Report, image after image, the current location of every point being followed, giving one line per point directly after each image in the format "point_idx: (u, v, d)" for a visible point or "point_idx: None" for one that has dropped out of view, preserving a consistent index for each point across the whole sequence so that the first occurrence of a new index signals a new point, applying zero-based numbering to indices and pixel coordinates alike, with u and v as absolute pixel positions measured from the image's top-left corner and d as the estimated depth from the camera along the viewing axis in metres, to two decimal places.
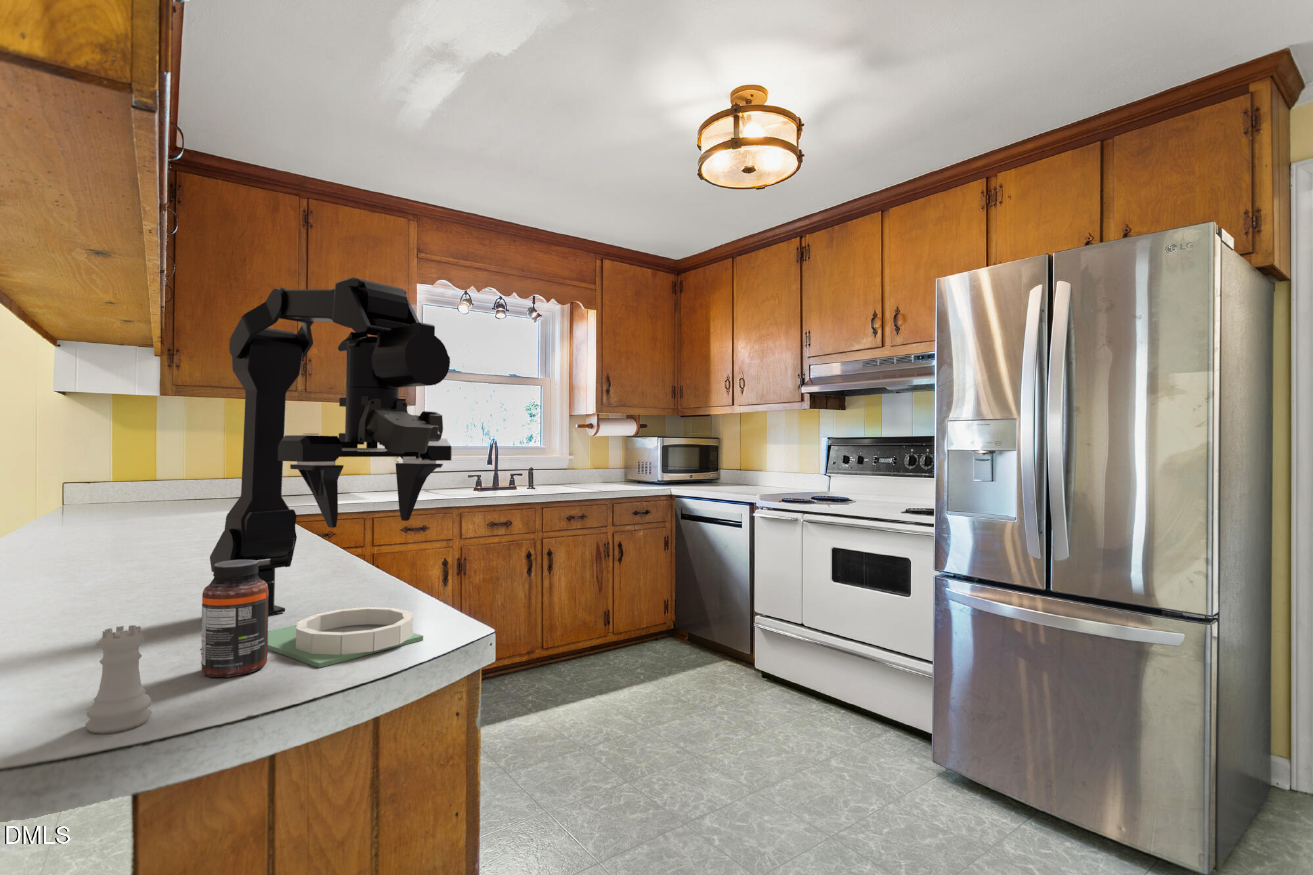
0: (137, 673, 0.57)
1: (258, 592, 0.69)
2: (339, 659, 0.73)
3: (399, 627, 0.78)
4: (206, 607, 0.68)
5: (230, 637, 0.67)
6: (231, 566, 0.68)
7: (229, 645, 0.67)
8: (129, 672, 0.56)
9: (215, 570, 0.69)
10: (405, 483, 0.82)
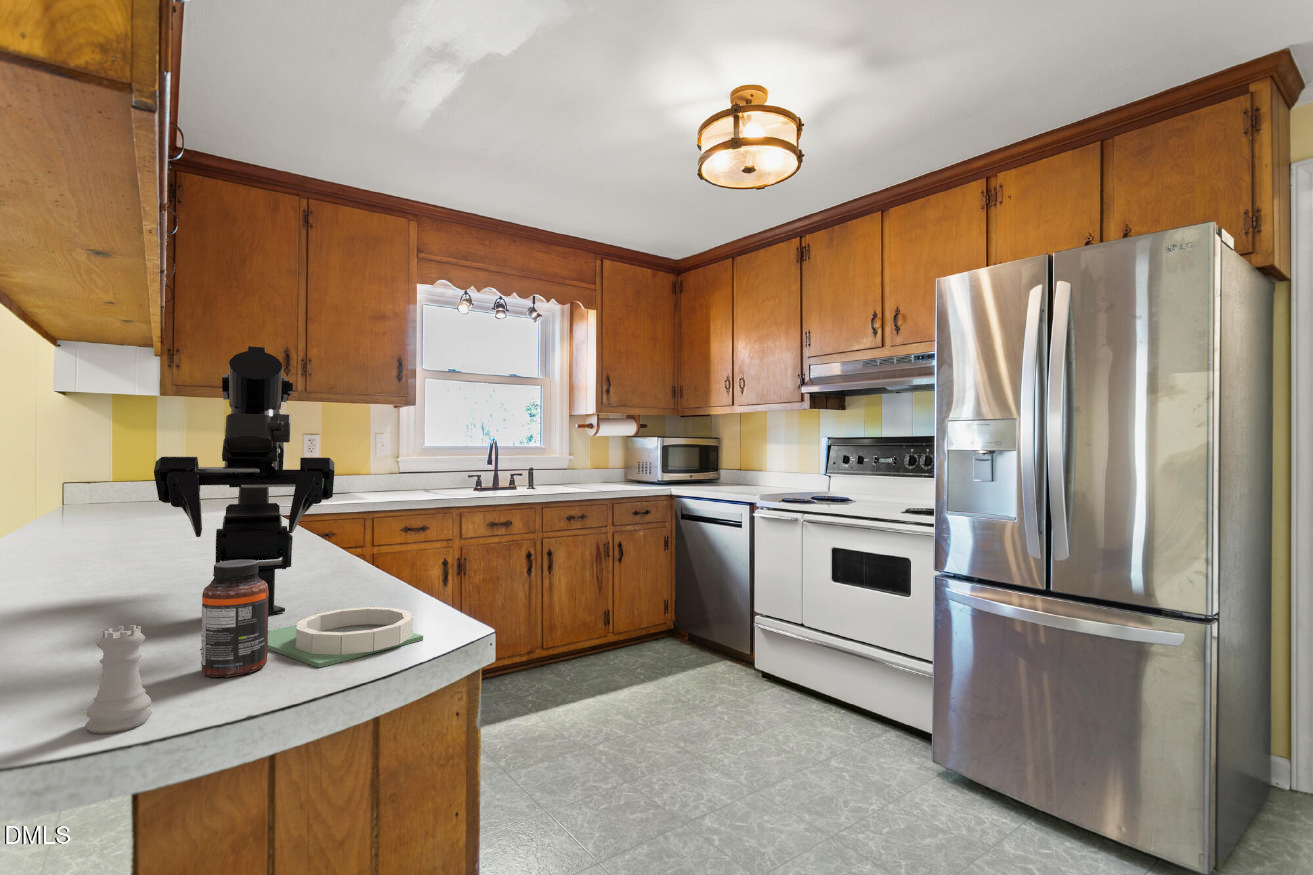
0: (137, 673, 0.57)
1: (258, 592, 0.69)
2: (339, 659, 0.73)
3: (399, 627, 0.78)
4: (206, 607, 0.68)
5: (230, 637, 0.67)
6: (231, 566, 0.68)
7: (229, 645, 0.67)
8: (129, 672, 0.56)
9: (215, 570, 0.69)
10: None
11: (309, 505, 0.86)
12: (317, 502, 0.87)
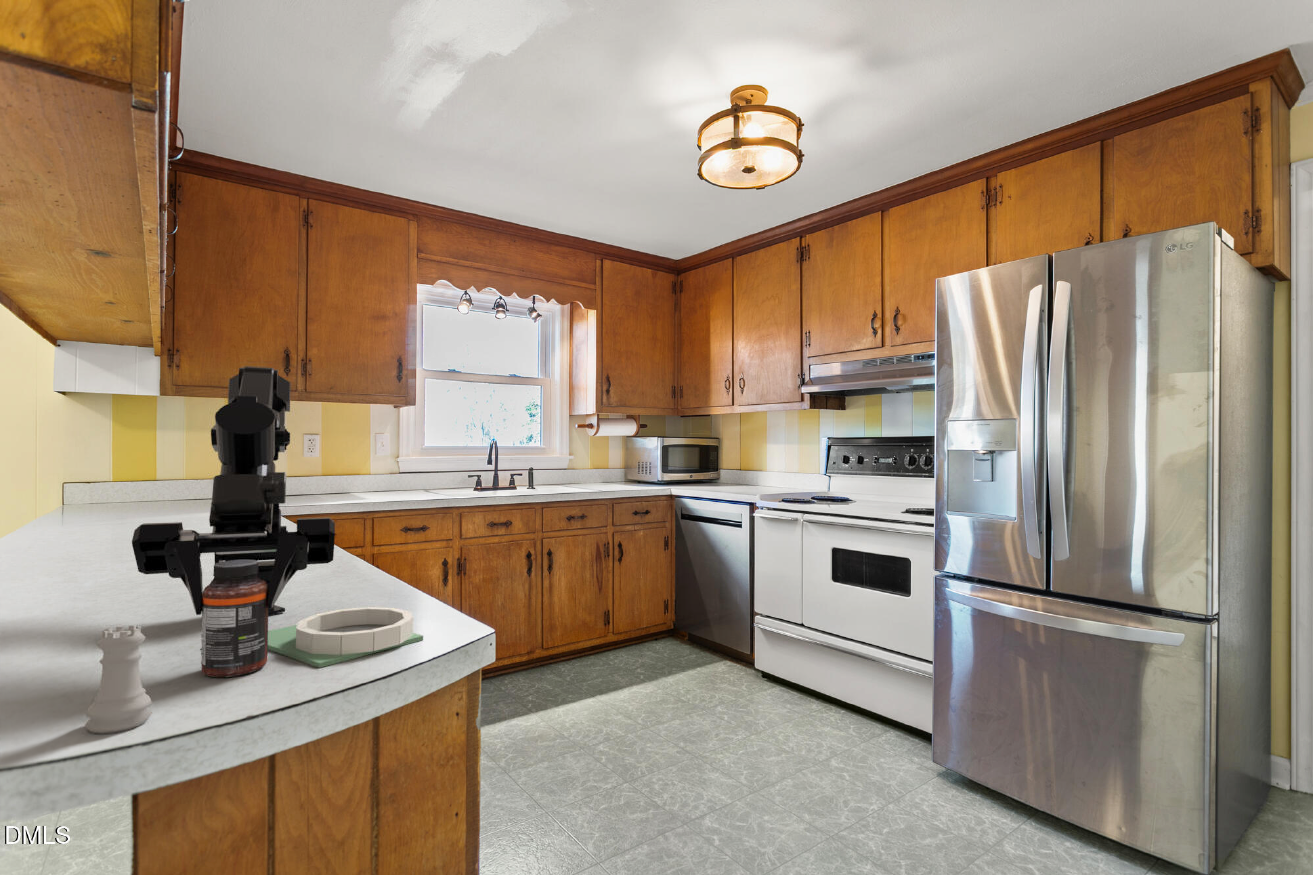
0: (137, 673, 0.57)
1: (258, 592, 0.69)
2: (339, 659, 0.73)
3: (399, 627, 0.78)
4: (206, 607, 0.68)
5: (230, 637, 0.67)
6: (231, 566, 0.68)
7: (229, 645, 0.67)
8: (129, 672, 0.56)
9: (215, 570, 0.69)
10: None
11: (293, 572, 0.76)
12: (302, 568, 0.77)
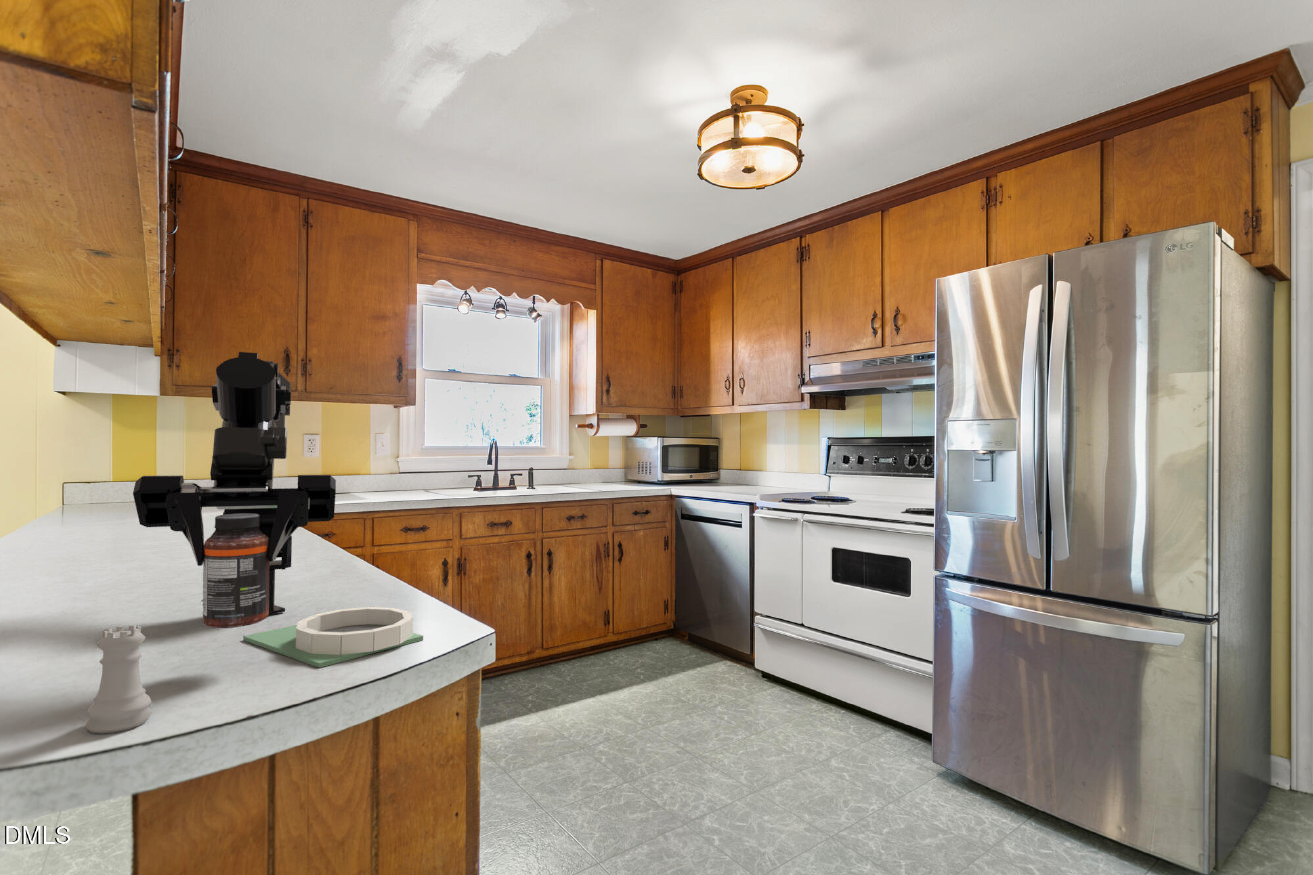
0: (137, 673, 0.57)
1: (259, 545, 0.70)
2: (339, 659, 0.73)
3: (399, 627, 0.78)
4: (207, 558, 0.68)
5: (231, 588, 0.68)
6: (232, 518, 0.69)
7: (230, 596, 0.68)
8: (129, 672, 0.56)
9: (216, 522, 0.69)
10: None
11: (293, 528, 0.77)
12: (303, 525, 0.78)
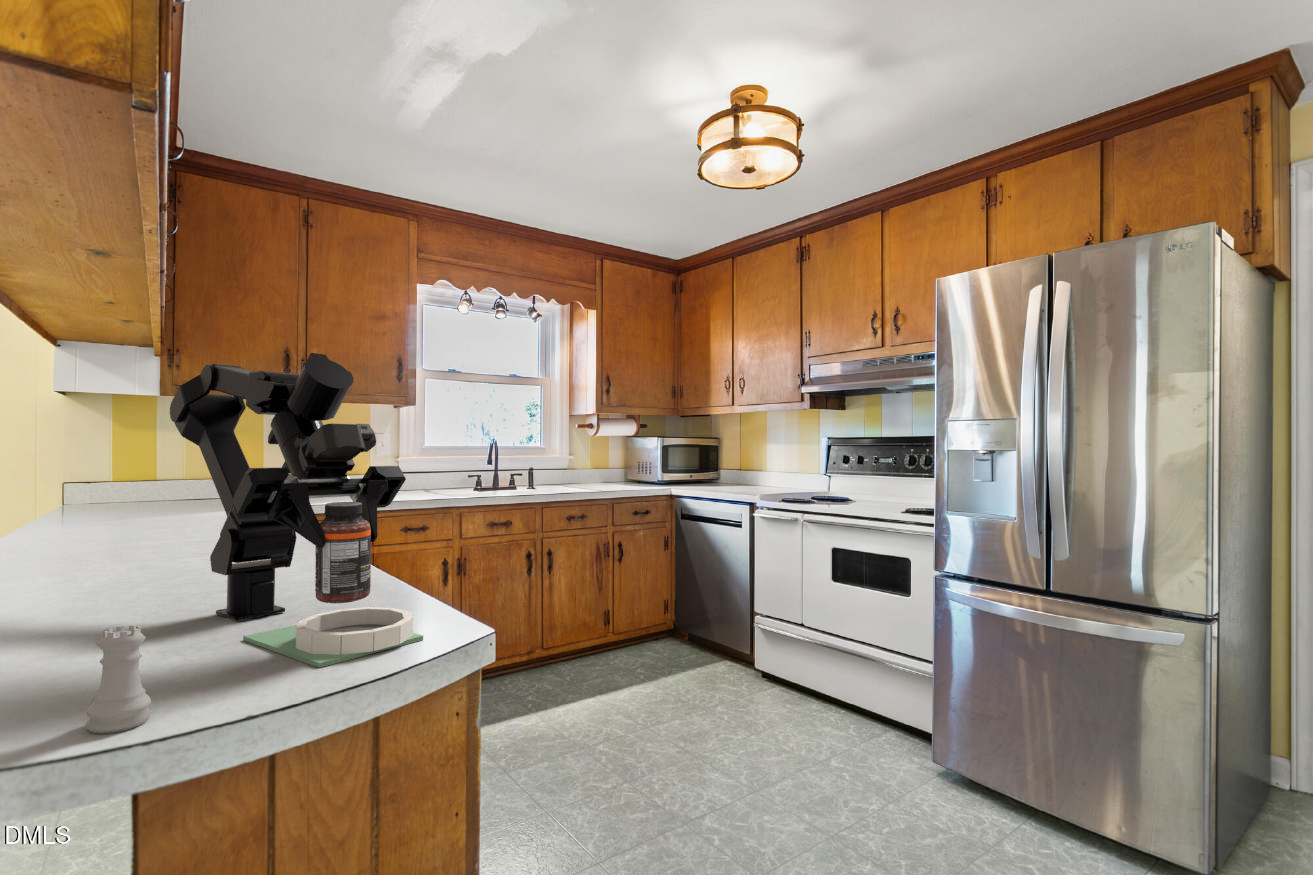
0: (137, 673, 0.57)
1: (369, 528, 0.79)
2: (339, 659, 0.73)
3: (399, 627, 0.78)
4: (330, 541, 0.76)
5: (354, 566, 0.77)
6: (349, 505, 0.77)
7: (354, 573, 0.77)
8: (129, 672, 0.56)
9: (333, 509, 0.77)
10: None
11: None
12: None
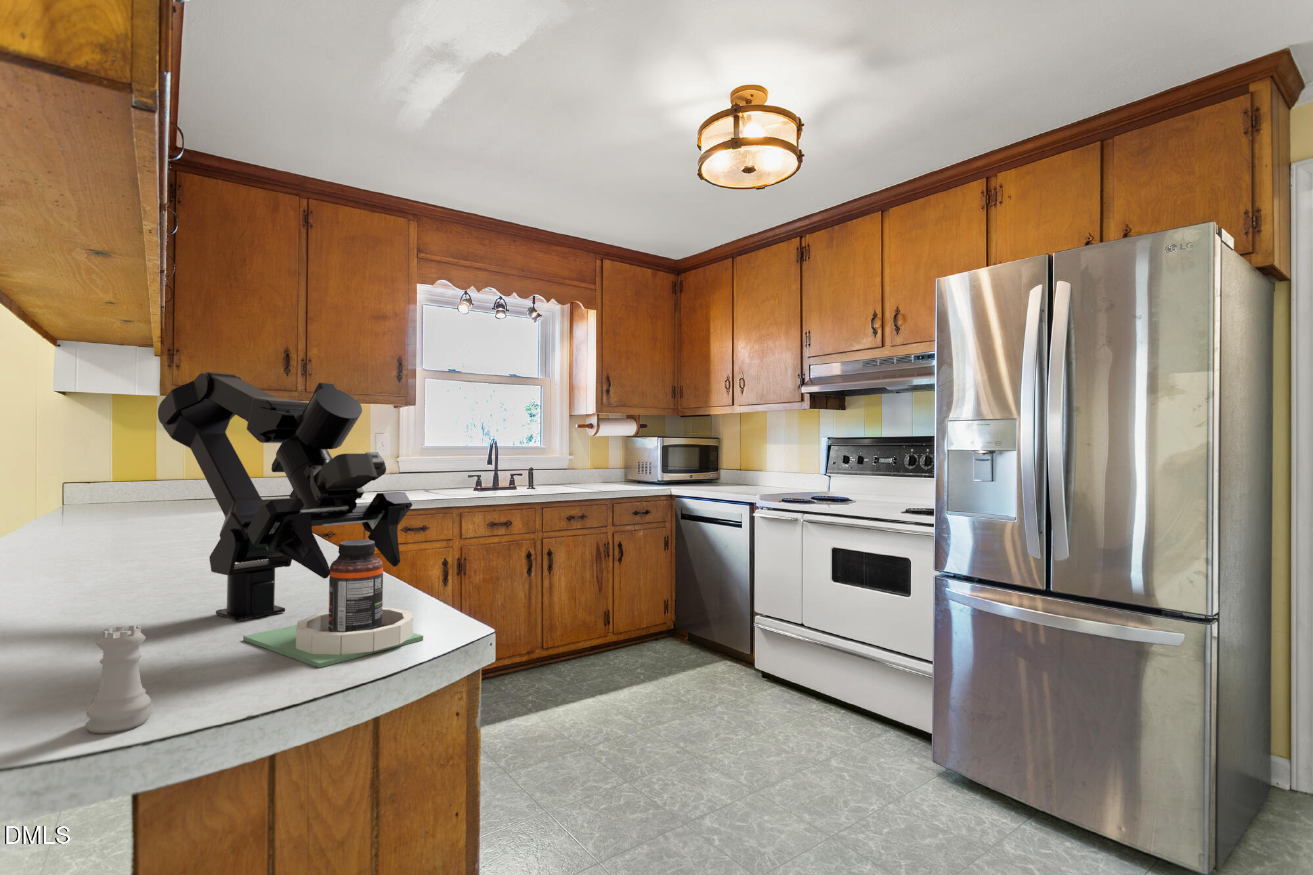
0: (137, 673, 0.57)
1: (382, 565, 0.81)
2: (339, 659, 0.73)
3: (399, 627, 0.78)
4: (346, 580, 0.78)
5: (369, 604, 0.79)
6: (364, 544, 0.79)
7: (369, 611, 0.79)
8: (129, 672, 0.56)
9: (348, 548, 0.79)
10: (382, 538, 0.86)
11: None
12: None
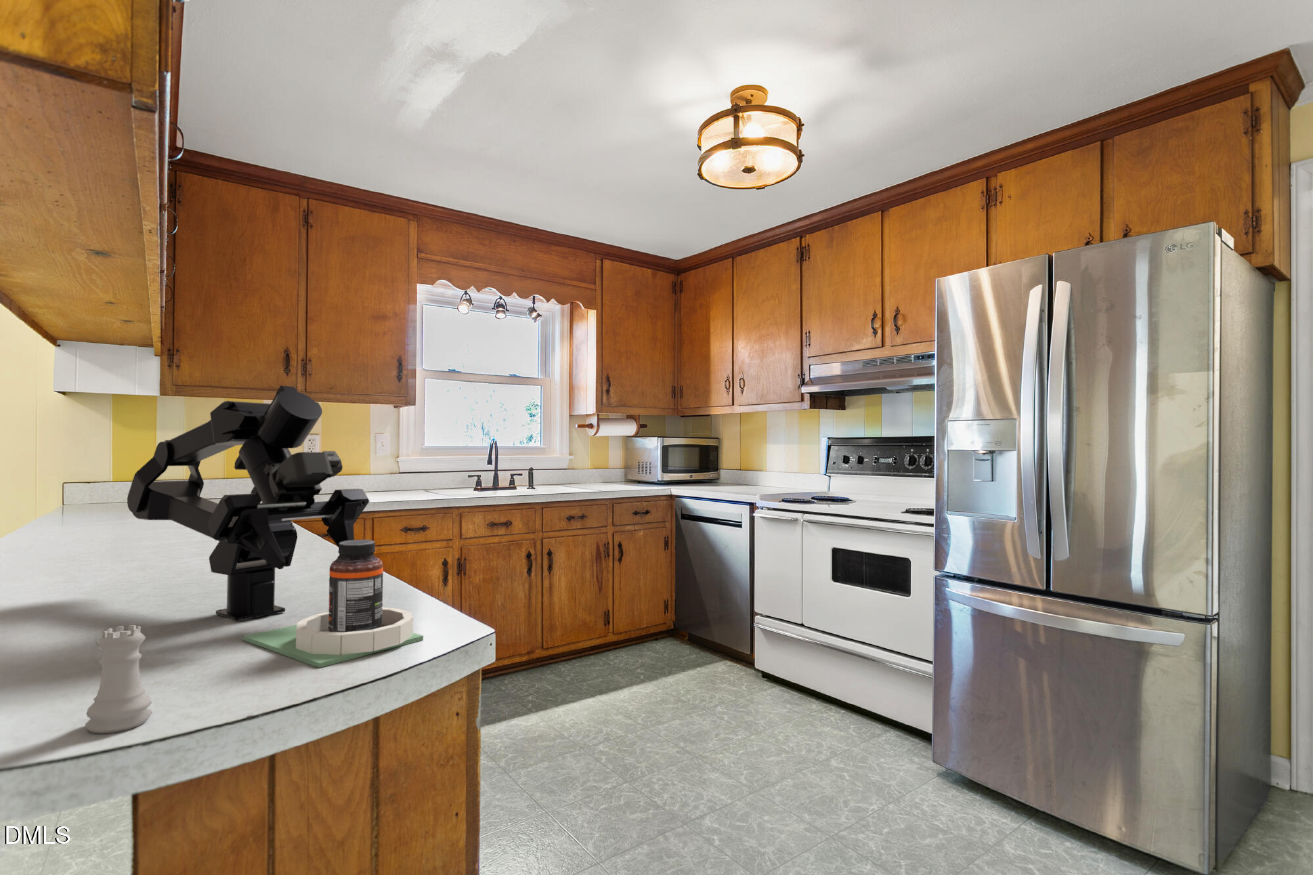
0: (137, 673, 0.57)
1: (382, 565, 0.81)
2: (339, 659, 0.73)
3: (399, 627, 0.78)
4: (346, 580, 0.78)
5: (369, 604, 0.79)
6: (364, 544, 0.79)
7: (368, 611, 0.79)
8: (129, 672, 0.56)
9: (348, 548, 0.79)
10: (338, 532, 0.91)
11: None
12: None
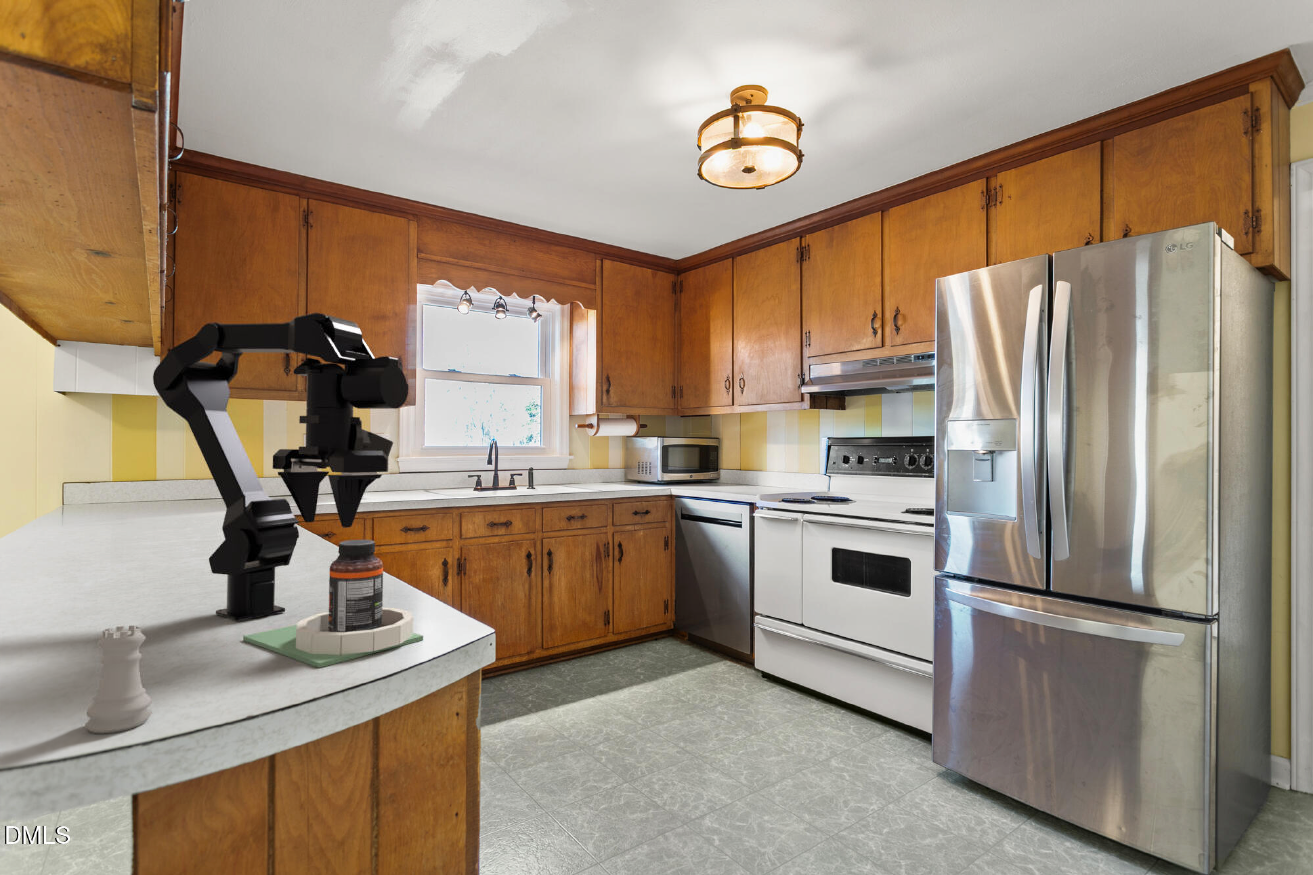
0: (137, 673, 0.57)
1: (382, 565, 0.81)
2: (339, 659, 0.73)
3: (399, 627, 0.78)
4: (346, 580, 0.78)
5: (369, 604, 0.79)
6: (364, 544, 0.79)
7: (369, 611, 0.79)
8: (129, 672, 0.56)
9: (348, 548, 0.79)
10: (306, 489, 0.92)
11: None
12: (281, 475, 0.92)
